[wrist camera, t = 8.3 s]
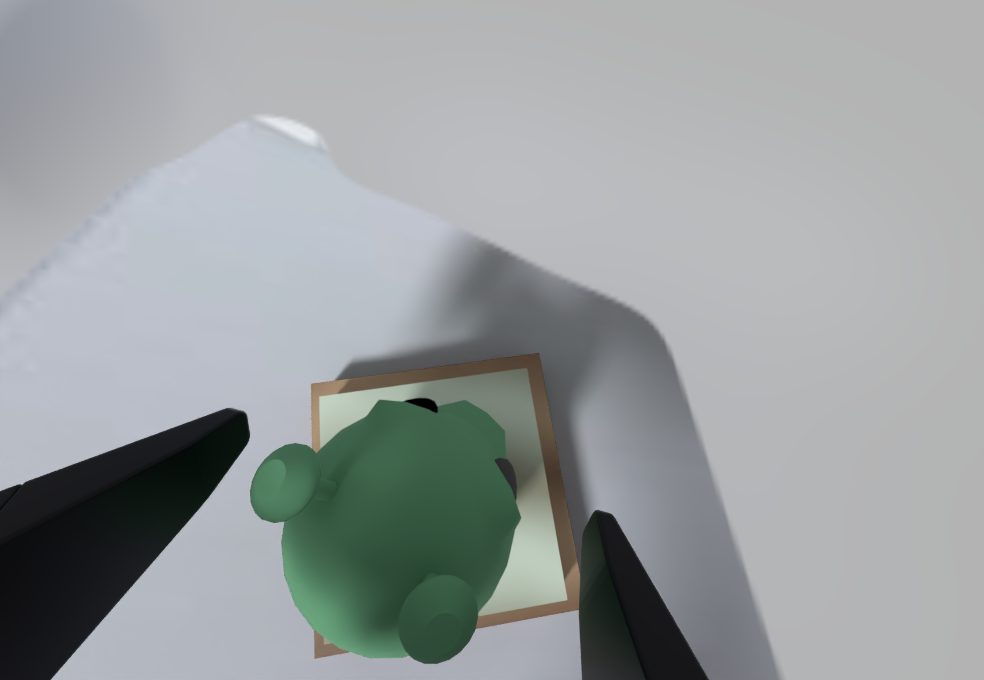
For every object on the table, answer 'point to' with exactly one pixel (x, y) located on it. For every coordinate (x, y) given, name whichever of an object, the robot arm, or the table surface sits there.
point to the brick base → (546, 455)
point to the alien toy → (395, 527)
